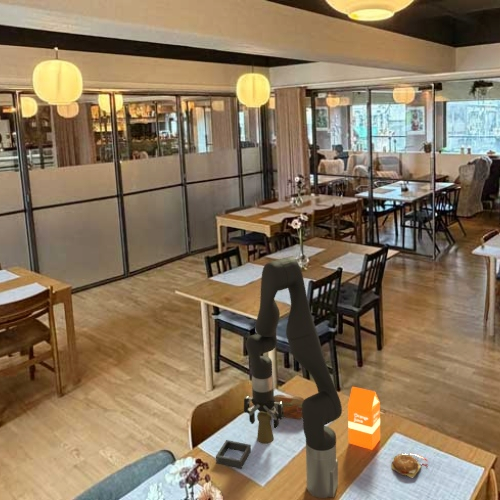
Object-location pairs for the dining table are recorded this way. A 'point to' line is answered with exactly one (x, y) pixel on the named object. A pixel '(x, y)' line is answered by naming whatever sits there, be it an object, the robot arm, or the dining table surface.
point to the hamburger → (407, 464)
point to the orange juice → (364, 418)
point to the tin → (290, 406)
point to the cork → (264, 428)
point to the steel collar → (231, 461)
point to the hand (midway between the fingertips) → (264, 424)
